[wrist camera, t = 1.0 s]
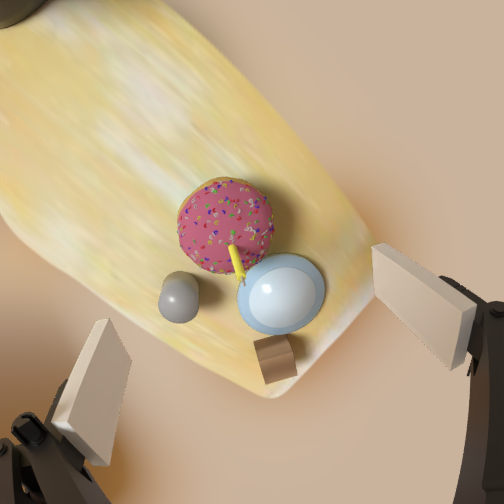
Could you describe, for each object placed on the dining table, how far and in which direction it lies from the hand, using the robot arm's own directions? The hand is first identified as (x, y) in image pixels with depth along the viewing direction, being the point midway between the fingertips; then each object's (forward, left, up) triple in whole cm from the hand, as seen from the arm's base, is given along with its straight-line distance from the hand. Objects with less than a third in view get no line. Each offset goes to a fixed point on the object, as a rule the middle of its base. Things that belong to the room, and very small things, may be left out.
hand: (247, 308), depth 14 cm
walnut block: (+18, +1, -18) cm, 26 cm away
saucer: (+10, +4, -18) cm, 21 cm away
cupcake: (0, 0, -18) cm, 18 cm away
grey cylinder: (+6, -7, -18) cm, 20 cm away
